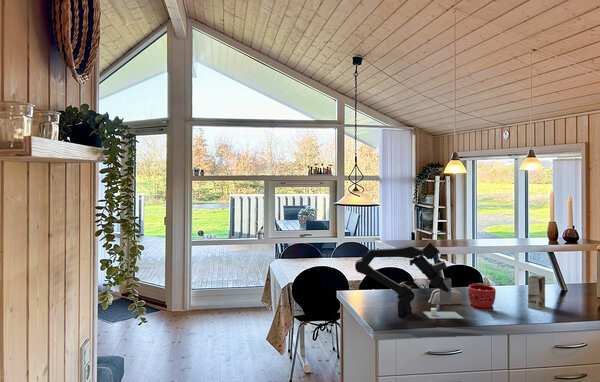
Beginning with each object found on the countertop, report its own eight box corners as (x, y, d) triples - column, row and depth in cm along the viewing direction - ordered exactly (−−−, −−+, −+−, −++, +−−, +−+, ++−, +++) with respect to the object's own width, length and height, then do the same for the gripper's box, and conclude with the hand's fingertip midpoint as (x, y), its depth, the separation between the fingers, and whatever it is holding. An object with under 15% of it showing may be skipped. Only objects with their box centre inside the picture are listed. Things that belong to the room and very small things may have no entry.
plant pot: (462, 308, 220) (462, 285, 220) (481, 305, 225) (481, 283, 225) (482, 315, 208) (482, 290, 208) (501, 312, 213) (501, 288, 213)
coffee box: (541, 310, 217) (541, 278, 218) (527, 307, 222) (527, 277, 222) (545, 306, 224) (545, 276, 224) (532, 304, 228) (532, 274, 229)
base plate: (429, 321, 197) (429, 311, 197) (422, 314, 208) (422, 305, 208) (463, 321, 197) (463, 311, 197) (455, 314, 208) (455, 305, 208)
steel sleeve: (439, 301, 201) (439, 279, 201) (438, 299, 206) (439, 277, 206) (451, 302, 199) (451, 280, 199) (450, 299, 204) (450, 278, 205)
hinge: (455, 301, 234) (459, 285, 231) (460, 306, 230) (463, 290, 226) (427, 302, 231) (430, 286, 228) (431, 307, 227) (434, 291, 224)
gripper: (438, 257, 195) (463, 283, 192) (435, 252, 213) (458, 275, 210) (420, 273, 197) (444, 299, 194) (419, 267, 215) (441, 290, 212)
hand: (448, 290), depth 202 cm, fingers closed on steel sleeve, 5 cm apart
